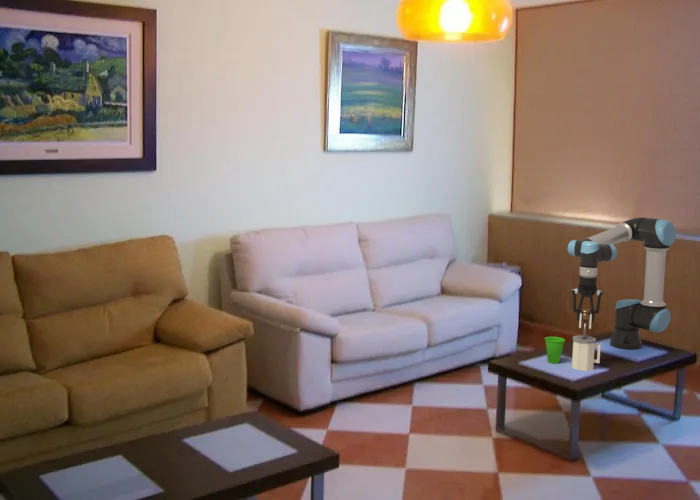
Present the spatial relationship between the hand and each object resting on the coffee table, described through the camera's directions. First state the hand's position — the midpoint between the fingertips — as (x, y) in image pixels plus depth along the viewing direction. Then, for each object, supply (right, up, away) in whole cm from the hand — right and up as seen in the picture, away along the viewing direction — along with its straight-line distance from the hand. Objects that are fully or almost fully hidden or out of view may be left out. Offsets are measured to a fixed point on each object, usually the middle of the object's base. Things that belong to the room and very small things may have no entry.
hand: (584, 327), depth 365 cm
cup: (-11, -17, +10) cm, 23 cm away
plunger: (0, -14, +2) cm, 14 cm away
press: (+1, -18, +3) cm, 18 cm away
